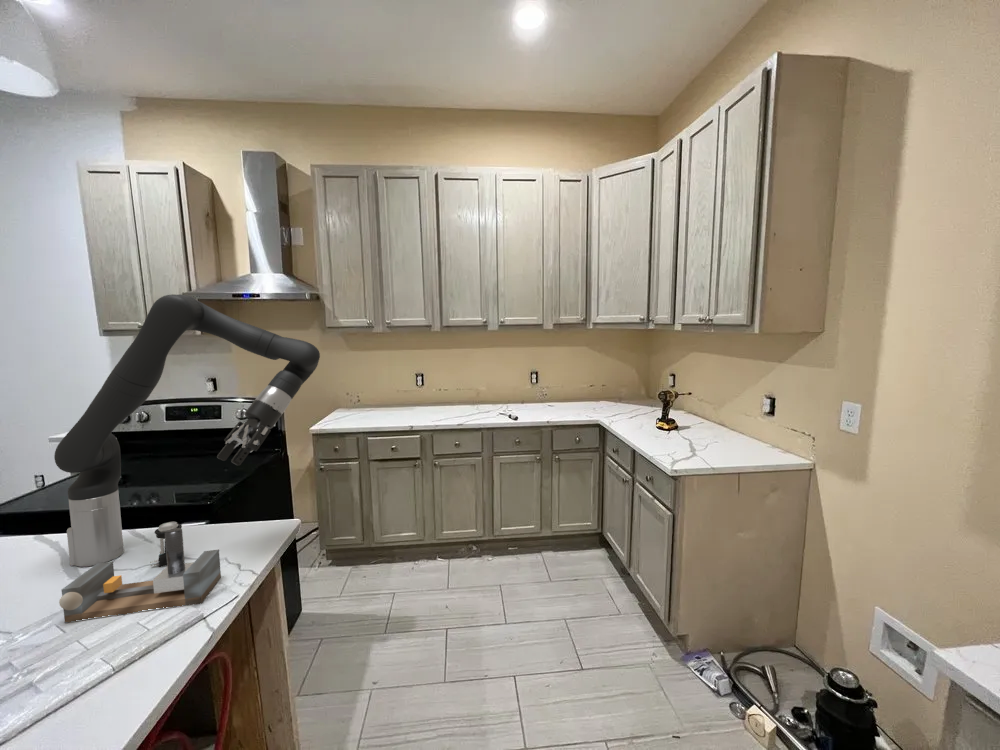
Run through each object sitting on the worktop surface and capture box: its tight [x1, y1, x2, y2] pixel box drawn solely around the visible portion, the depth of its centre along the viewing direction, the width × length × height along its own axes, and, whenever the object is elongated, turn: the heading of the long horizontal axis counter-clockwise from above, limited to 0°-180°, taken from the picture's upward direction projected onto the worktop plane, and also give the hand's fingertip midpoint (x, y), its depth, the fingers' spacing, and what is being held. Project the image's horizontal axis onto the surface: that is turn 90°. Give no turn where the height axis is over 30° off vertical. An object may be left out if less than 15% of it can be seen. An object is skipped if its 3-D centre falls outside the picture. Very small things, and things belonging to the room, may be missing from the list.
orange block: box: [103, 574, 123, 593], centre depth 89 cm, size 2×3×2 cm, turn 14°
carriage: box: [152, 528, 195, 594], centre depth 91 cm, size 6×6×12 cm
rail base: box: [58, 548, 222, 623], centre depth 90 cm, size 24×10×7 cm, turn 104°
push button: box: [149, 521, 183, 568], centre depth 105 cm, size 7×5×10 cm
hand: (227, 461), depth 102 cm, fingers open, 8 cm apart
